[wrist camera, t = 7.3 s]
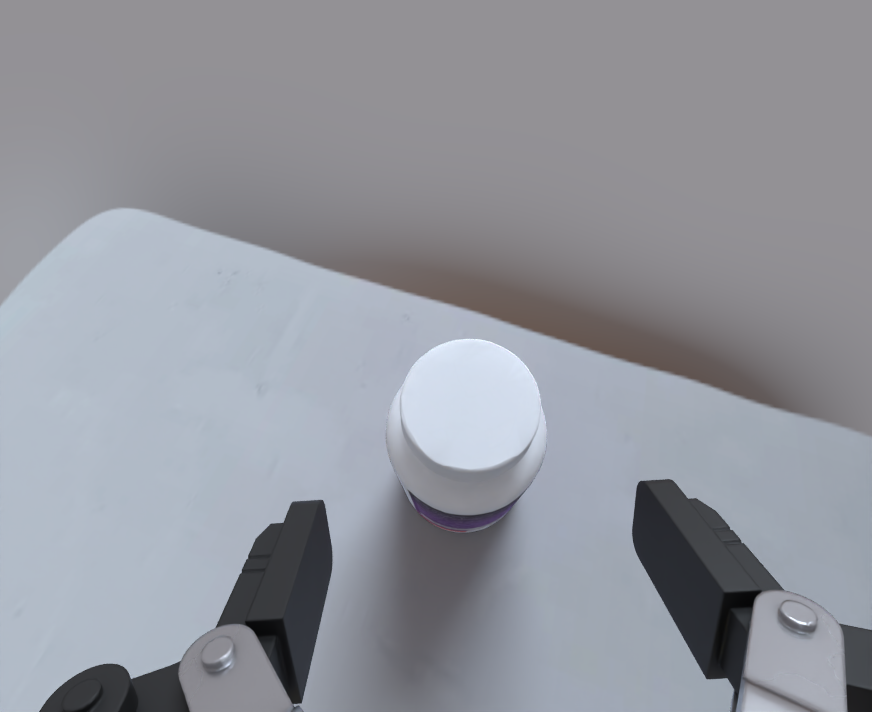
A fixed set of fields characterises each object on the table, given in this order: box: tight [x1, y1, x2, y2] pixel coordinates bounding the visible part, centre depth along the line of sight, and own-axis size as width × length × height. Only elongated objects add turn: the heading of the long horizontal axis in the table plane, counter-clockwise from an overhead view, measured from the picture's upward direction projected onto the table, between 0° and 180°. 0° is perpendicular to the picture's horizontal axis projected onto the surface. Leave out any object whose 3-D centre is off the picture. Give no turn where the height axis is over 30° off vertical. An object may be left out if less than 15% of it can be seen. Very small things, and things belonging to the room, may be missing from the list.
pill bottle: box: [386, 339, 547, 533], centre depth 18 cm, size 5×5×10 cm
